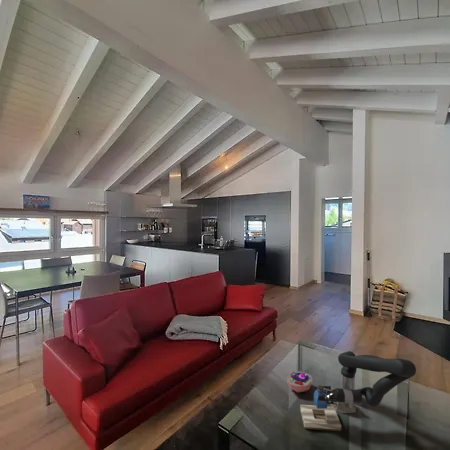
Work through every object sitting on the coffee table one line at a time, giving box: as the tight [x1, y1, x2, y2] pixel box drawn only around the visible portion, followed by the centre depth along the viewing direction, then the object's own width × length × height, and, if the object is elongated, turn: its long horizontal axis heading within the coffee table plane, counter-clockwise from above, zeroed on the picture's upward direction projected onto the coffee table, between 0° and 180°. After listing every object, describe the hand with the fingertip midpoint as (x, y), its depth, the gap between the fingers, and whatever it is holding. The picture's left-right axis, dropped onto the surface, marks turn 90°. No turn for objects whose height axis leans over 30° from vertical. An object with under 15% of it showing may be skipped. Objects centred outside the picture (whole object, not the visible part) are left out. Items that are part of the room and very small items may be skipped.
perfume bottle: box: [313, 384, 328, 409], centre depth 169 cm, size 6×6×12 cm
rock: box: [329, 387, 357, 414], centre depth 184 cm, size 16×16×15 cm
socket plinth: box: [299, 404, 342, 432], centre depth 171 cm, size 15×22×4 cm
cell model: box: [286, 370, 313, 393], centre depth 200 cm, size 17×20×11 cm
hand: (316, 394), depth 169 cm, fingers closed on perfume bottle, 7 cm apart
